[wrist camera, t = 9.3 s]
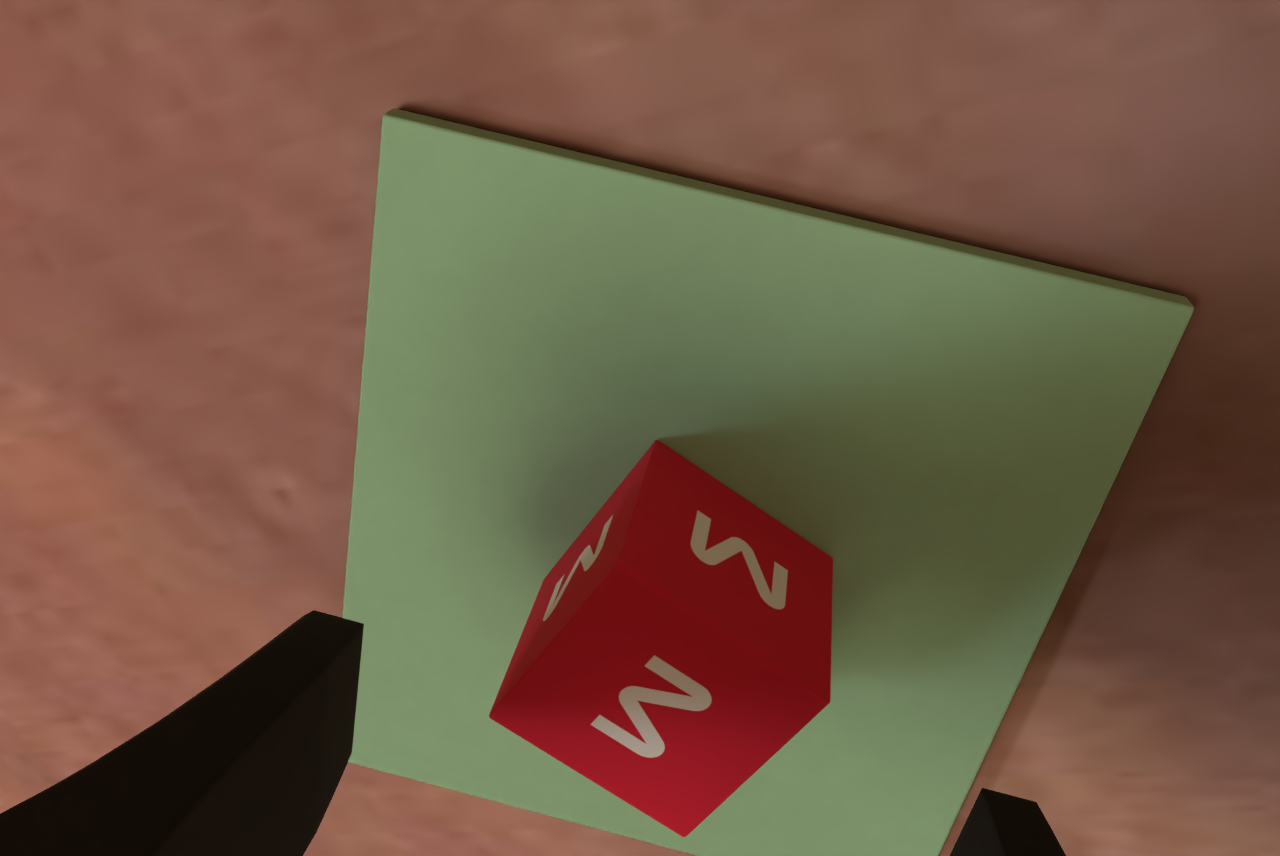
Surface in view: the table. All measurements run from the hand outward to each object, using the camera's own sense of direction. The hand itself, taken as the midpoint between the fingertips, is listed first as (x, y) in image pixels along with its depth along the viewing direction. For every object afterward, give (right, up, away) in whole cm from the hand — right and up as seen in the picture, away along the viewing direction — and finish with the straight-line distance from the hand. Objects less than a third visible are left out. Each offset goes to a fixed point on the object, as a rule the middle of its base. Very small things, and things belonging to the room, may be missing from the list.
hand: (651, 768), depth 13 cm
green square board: (+1, +2, +4) cm, 4 cm away
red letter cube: (+1, +2, +3) cm, 4 cm away
